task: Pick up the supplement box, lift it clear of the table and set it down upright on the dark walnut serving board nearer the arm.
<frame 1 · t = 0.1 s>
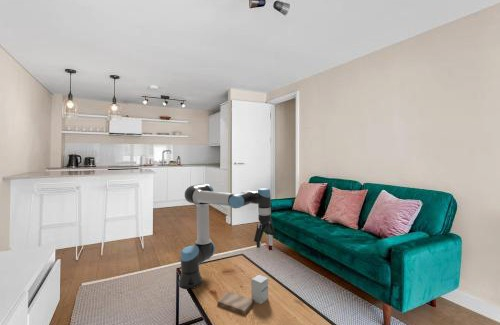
hand: (265, 248, 149), 28 cm above the table, fingers open, 13 cm apart
supplement box: (259, 299, 144), on the table
walnut board: (236, 304, 140), on the table
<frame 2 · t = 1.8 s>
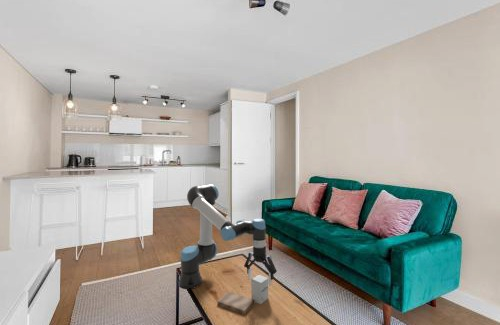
hand: (260, 281, 143), 11 cm above the table, fingers open, 13 cm apart
nothing on the table moved.
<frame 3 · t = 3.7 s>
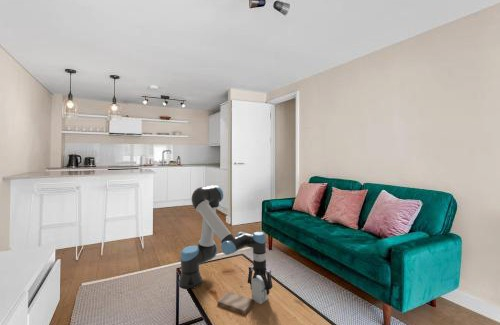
hand: (259, 297, 144), 1 cm above the table, fingers closed on supplement box, 8 cm apart
supplement box: (260, 299, 144), on the table, touching gripper
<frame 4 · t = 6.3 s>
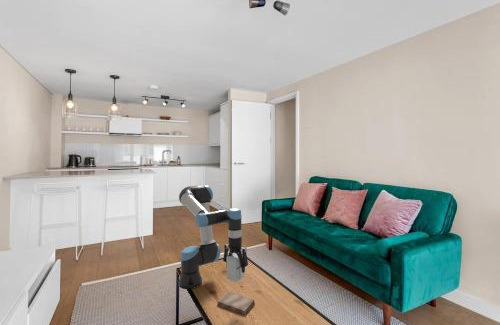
hand: (235, 275, 139), 16 cm above the table, fingers closed on supplement box, 8 cm apart
supplement box: (235, 278, 139), point 15 cm above the table, touching gripper
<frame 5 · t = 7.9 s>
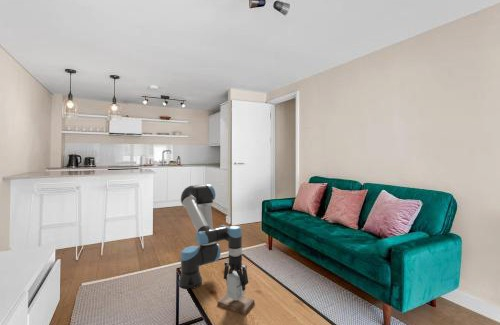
hand: (235, 293, 139), 6 cm above the table, fingers closed on supplement box, 8 cm apart
supplement box: (236, 296, 139), point 5 cm above the table, touching gripper
when the fingers open (4 cm above the table, at t = 9.2 s): supplement box stays where it is, resting on walnut board.
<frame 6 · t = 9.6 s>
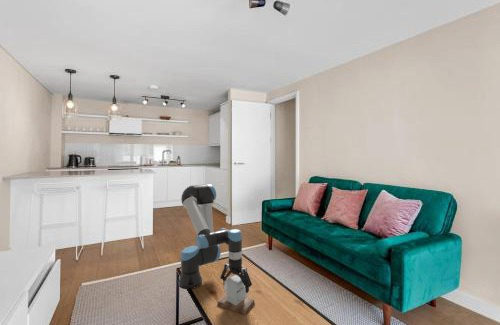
hand: (235, 294, 140), 6 cm above the table, fingers open, 13 cm apart
supplement box: (235, 300, 140), point 2 cm above the table, touching walnut board
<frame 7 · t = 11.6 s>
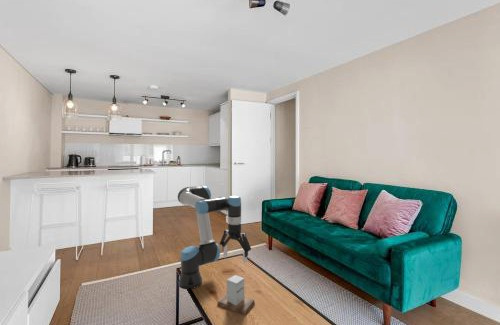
hand: (235, 259, 141), 25 cm above the table, fingers open, 13 cm apart
nothing on the table moved.
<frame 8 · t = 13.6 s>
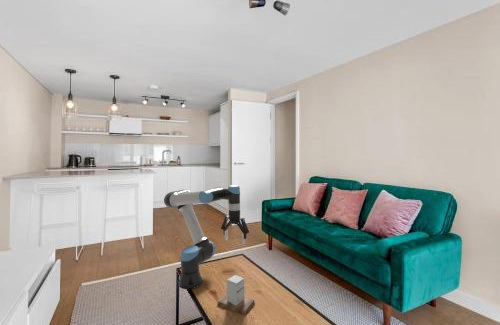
hand: (234, 242, 158), 29 cm above the table, fingers open, 13 cm apart
nothing on the table moved.
at the end: supplement box inside the target area on the walnut board (0.1 cm from its centre), point 1.9 cm above the walnut board's base; supplement box tilted 0°; the gripper is holding nothing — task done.
